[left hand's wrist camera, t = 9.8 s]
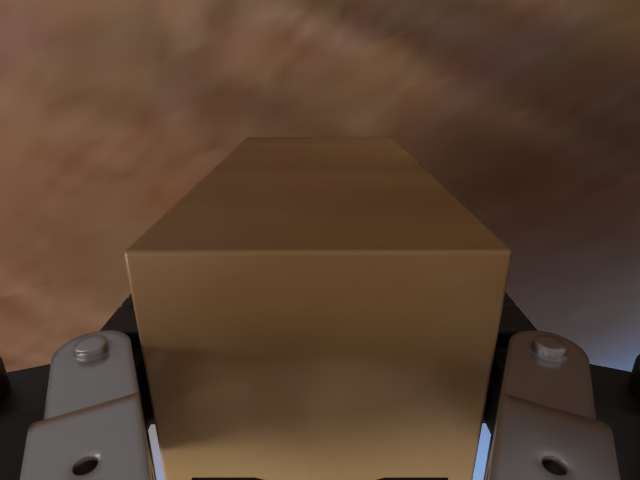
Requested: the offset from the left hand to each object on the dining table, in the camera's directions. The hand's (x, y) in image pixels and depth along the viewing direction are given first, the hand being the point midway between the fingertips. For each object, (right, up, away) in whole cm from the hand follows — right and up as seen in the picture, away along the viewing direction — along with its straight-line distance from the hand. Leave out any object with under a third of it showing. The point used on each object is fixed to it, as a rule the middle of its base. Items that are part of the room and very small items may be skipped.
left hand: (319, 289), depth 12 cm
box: (0, -4, +10) cm, 11 cm away
